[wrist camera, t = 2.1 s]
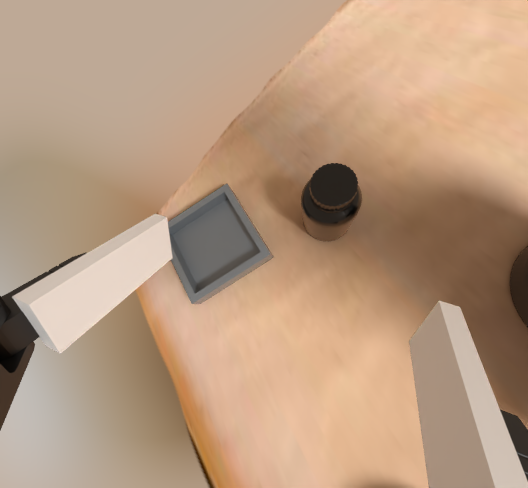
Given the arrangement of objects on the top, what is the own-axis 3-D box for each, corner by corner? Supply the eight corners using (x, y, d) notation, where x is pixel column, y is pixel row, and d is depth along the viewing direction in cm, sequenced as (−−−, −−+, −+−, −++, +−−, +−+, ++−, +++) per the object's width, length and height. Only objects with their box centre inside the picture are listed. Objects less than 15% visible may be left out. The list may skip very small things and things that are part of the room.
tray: (232, 191, 40) (226, 183, 37) (273, 257, 36) (270, 254, 34) (166, 234, 41) (156, 229, 38) (200, 303, 37) (191, 303, 34)
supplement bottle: (293, 226, 37) (285, 193, 25) (319, 190, 37) (322, 141, 26) (333, 251, 35) (344, 228, 24) (360, 213, 36) (383, 171, 24)
